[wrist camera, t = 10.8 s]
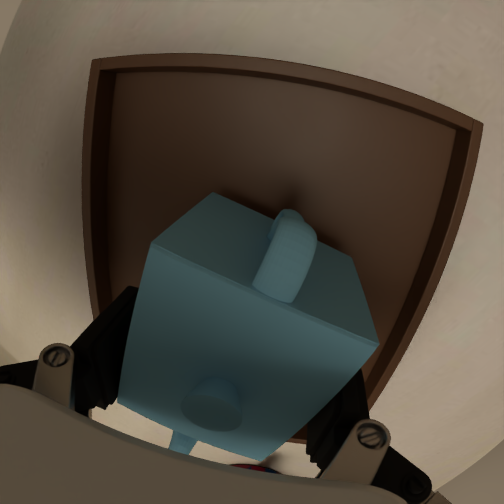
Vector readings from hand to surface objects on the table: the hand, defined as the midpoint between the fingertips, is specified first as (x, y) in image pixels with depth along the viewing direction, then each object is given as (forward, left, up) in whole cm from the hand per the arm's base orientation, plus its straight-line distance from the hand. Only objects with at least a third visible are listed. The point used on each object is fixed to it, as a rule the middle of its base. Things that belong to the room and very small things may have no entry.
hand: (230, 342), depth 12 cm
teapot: (0, 0, -3) cm, 3 cm away
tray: (0, 0, -4) cm, 4 cm away
